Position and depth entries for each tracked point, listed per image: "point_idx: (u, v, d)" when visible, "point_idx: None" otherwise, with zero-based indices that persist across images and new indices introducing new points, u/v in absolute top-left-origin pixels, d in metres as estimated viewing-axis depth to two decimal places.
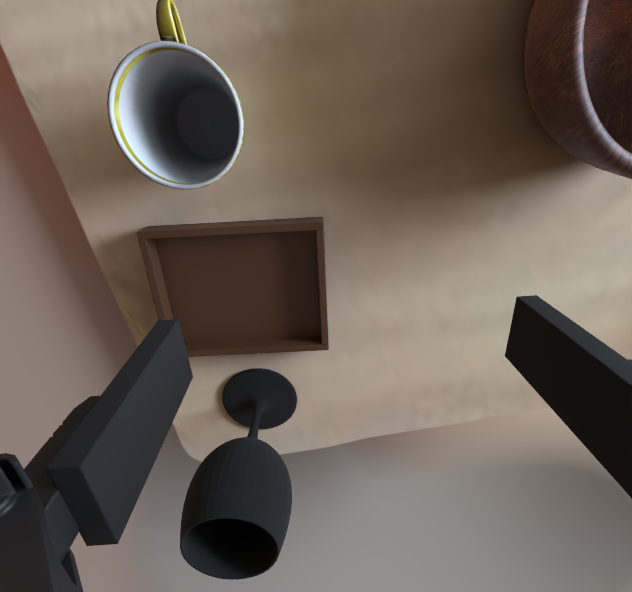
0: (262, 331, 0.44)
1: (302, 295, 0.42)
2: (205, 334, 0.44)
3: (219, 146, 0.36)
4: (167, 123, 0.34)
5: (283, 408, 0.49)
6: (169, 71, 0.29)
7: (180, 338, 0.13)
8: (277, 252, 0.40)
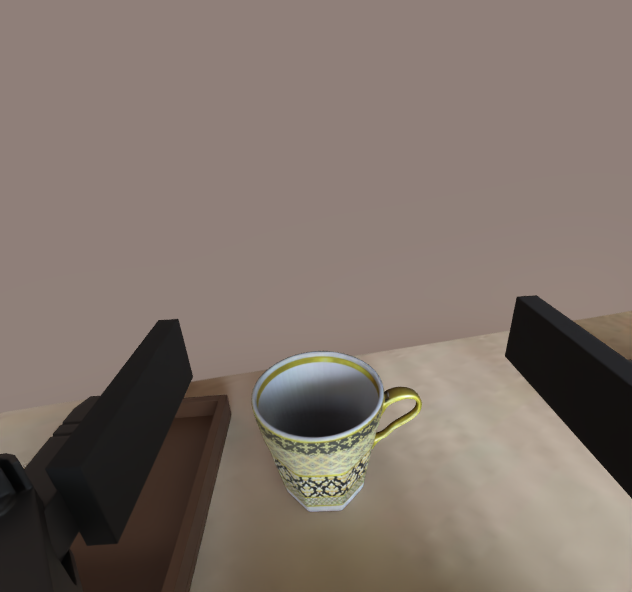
0: None
1: None
2: None
3: None
4: (323, 428, 0.33)
5: None
6: (365, 414, 0.30)
7: (179, 338, 0.13)
8: (145, 553, 0.26)
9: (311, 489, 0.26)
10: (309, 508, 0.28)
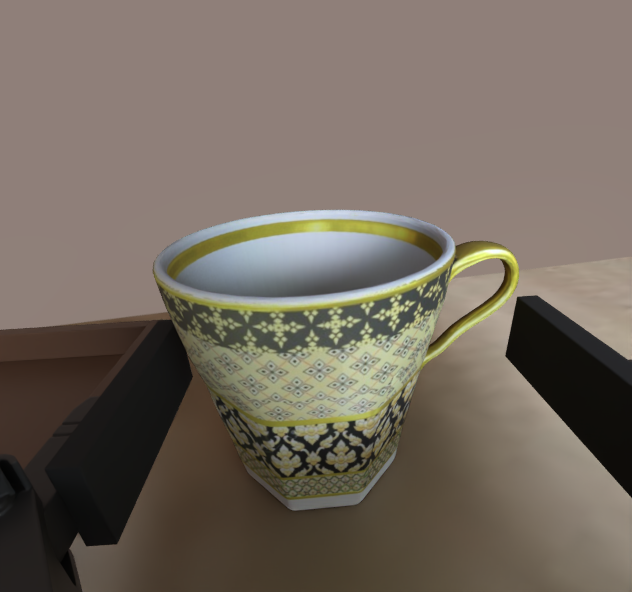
0: None
1: None
2: None
3: None
4: None
5: None
6: None
7: (179, 338, 0.13)
8: None
9: (296, 457, 0.12)
10: (292, 503, 0.13)
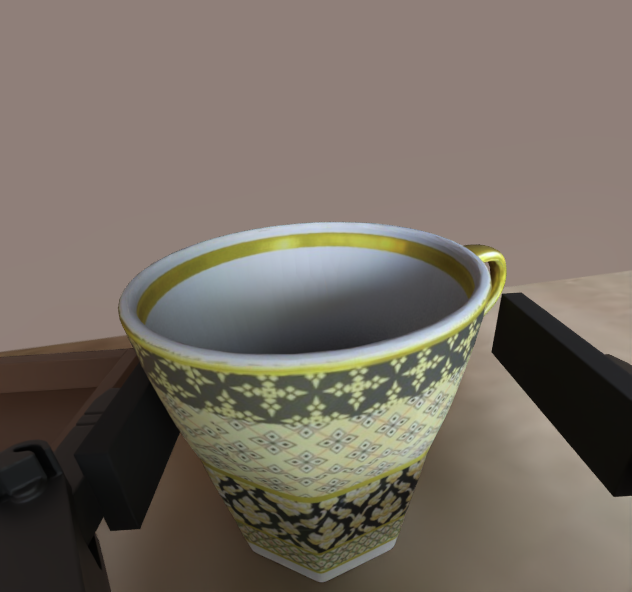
0: None
1: None
2: None
3: None
4: None
5: None
6: (388, 333, 0.15)
7: None
8: None
9: (339, 526, 0.10)
10: (325, 576, 0.11)
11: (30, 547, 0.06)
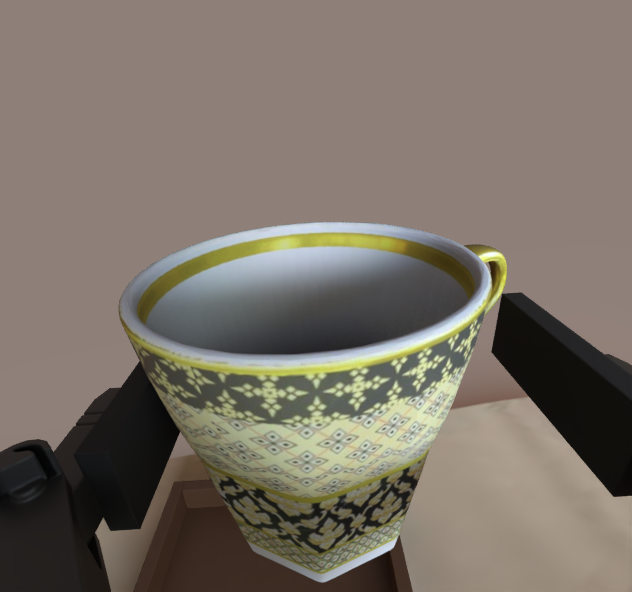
0: None
1: None
2: (187, 558, 0.23)
3: None
4: None
5: None
6: (388, 333, 0.15)
7: None
8: None
9: (340, 526, 0.10)
10: (325, 576, 0.11)
11: (30, 547, 0.06)
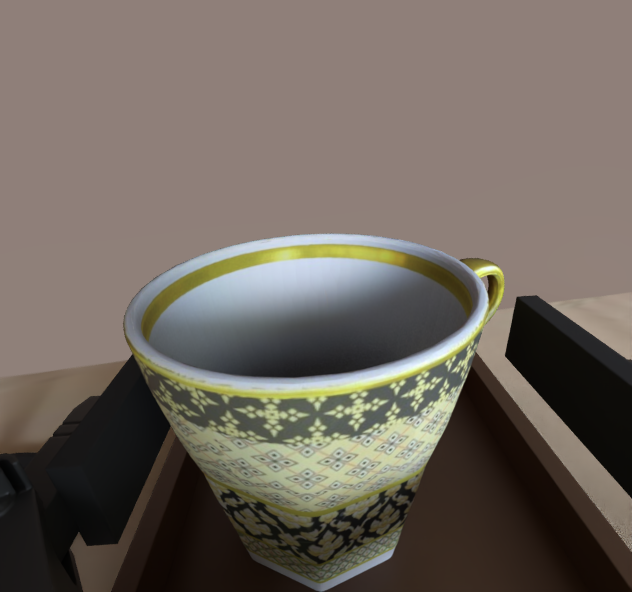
0: (198, 584, 0.12)
1: None
2: None
3: None
4: None
5: None
6: (387, 344, 0.15)
7: None
8: None
9: (339, 538, 0.10)
10: (324, 585, 0.11)
11: None
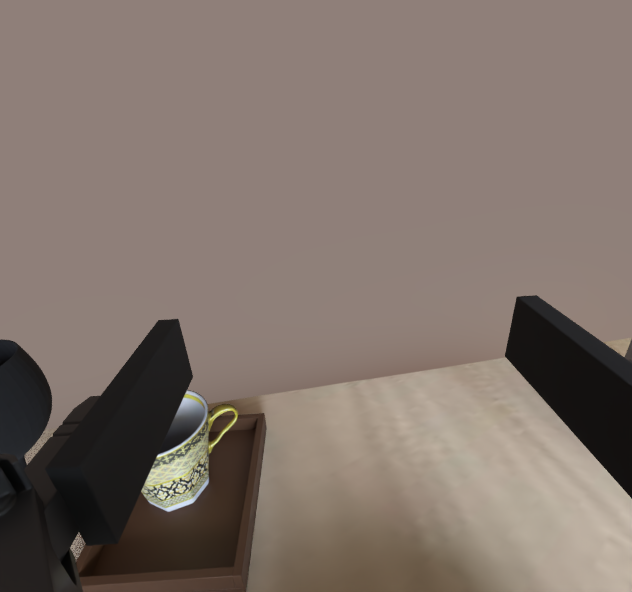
0: None
1: (155, 560, 0.34)
2: None
3: None
4: None
5: None
6: None
7: (179, 338, 0.13)
8: (217, 530, 0.37)
9: (165, 493, 0.37)
10: (167, 509, 0.38)
11: None
